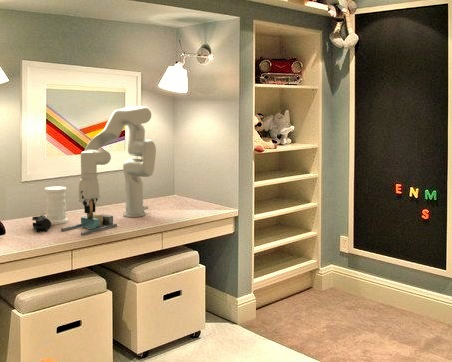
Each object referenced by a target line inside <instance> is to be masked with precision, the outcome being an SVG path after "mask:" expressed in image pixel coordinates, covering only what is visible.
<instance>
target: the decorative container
mask: <svg viewBox="0 0 452 362" xmlns="http://www.w3.org/2000/svg"><path fill="white" fill-rule="evenodd" d="M66 191H67V187H66V186H59V185H58V186H48V187H44V192H45V199H46V200H45V204H46V206H45V209H46V214H45V216H46V217H47V218H48V219H49V220H50V221H51V225H61V224H62V225H63V224H67V223H68V222H69V219H68V217H67V205H66V203H67V200H66V196H67V195H66Z"/></svg>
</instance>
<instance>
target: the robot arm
mask: <svg viewBox="0 0 452 362" xmlns="http://www.w3.org/2000/svg"><path fill="white" fill-rule="evenodd" d="M151 119H152V112H151V109H150V108H149V107H147V106H134V105H133V106H125V107H123V108H118V109H115V110H114V111H113V112H112V114H111V116H109V119H108V121H107V122H106V125H105V127H104V128H103V130H102V131H100V132H99V133H98V134H96V135H95V136H93V138H91V139H90V140H89V141H88V143H87V145H86V147H85V149H84V151H81V153H80V179H79V182H78V202H79V203H81V204H82V205H83V206H84V208H83V209H84V213H85V214H87V213H88V214H89V213H90V206H89V200H93V213H96V205H97V202H98V201H99V199H100V198H101V196H100V185H99V179H98V171H97V169H98V168H97V166H100V165H101V166H105V165H107V164H109V163H110V162H111V159H112V157H111V156H112V155H111V153H110V152H109V151H108V150H105V149H100V148H102V147H103V146H104V145H107V144H110V143H113V142H115V141H117V140H119V137H120V136H121V133H122V132H123V130H124V127H125V126H127V127H128V144H127V153H128V154H129V155H130V156H133V157H142V158H127V159H126V160H125V161H124V162H123V164H122V165H123V166H122V169H123V174H124V181H125V184H124V185H125V186H124V187H125V191H124V193H125V211H124V212H122V213H123V214H122V215H123V216H124V217H126V218H140V217H145V216H146V215H147V213H146V211H145V210H148V209H149V206H148V205H144V184H143V180H142V178H149V177H151V176H153V174H154V171H155V163H156V155H157V148H156V144H155V142H154V141H153V140H152V139H145V136H146V135H145V133H146V129H145V127H144V124H147V123H148V122H149V121H151Z"/></svg>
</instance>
